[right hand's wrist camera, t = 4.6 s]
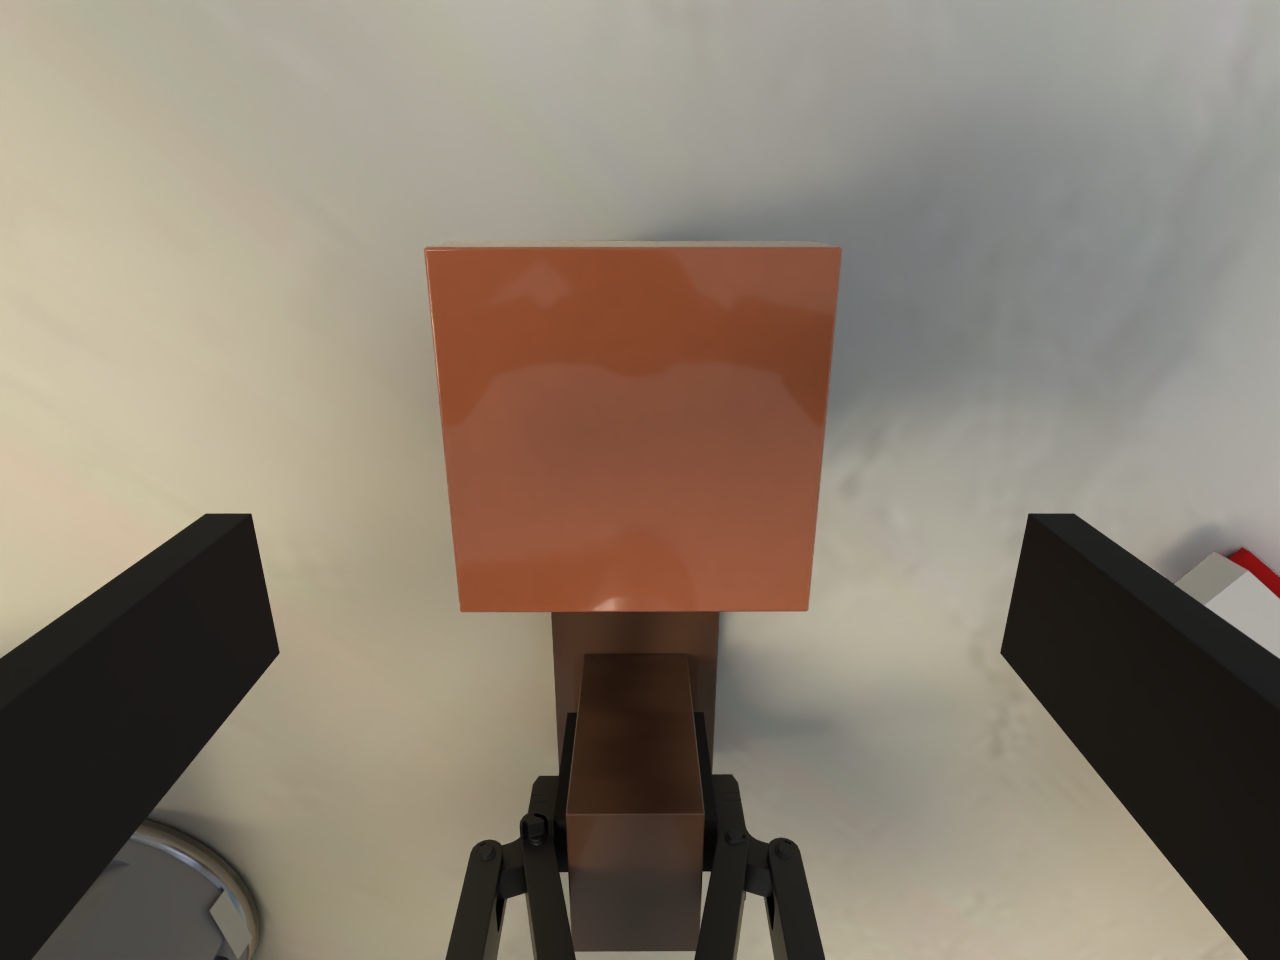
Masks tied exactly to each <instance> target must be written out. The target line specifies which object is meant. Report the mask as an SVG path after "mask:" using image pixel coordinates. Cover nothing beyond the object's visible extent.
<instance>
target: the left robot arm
mask: <svg viewBox="0 0 1280 960" xmlns="http://www.w3.org/2000/svg"><path fill="white" fill-rule="evenodd" d="M693 714H694V723H695V732H696V741H697V749H698V758H699V767H700V776H701V785H702V794H703V803H704V812H705V820H704V845H703V869H702V871H711V875H710V881H709V886H708V891H707V896H706V902H705V907H704V912H703V917H702V922H701V928H700V933H699V938H698V943H697V949H696V954H695V959H694V960H736V959H737V952H738V944H739V937H740V929H741V922H742V915H743V907H744V900H745V898H746V891H747V892H750V893H753V894H757V895H760V896H763V897H764V900H765V906H766V912H767V918H768V924H769V930H770V936H771V942H772V948H773V954H774V960H825V956H824V952H823V948H822V944H821V939H820V935H819V931H818V926H817V922H816V918H815V914H814V909H813V905H812V901H811V897H810V892H809V888H808V884H807V879H806V875H805V871H804V867H803V862H802V858H801V854H800V850H799V848H798V846H797V845H796V844H795V843H794V842H793V841H791V840H789V839H786V838H776V839H774V840H772V841H771V842H770V843H765V842H761V841H759V840H756V839H755V838H753V837H752V836H751V835H750V834H749V833H748V831H747V829H746V826H745V821H744V815H743V809H742V803H741V798H740V792H739V786H738V782H737V781H736V780H735V778H734V777H733V775H732V774H728V775H712V771H711V764H710V756H709V749H708V741H707V733H706V726H705V718H704V712H693ZM576 721H577V713H567V719H566V727H565V734H564V741H563V749H562V756H561V764H560V771H559V776H539V777H538V778H537V780H536V781H535V782H534V784H533V787H532V793H531V799H530V804H529V810H528V813H527V814H526V815H525V816H524V817H523V818H522V819H521V821H520V836H521V837H520V838H519V839H517V840H516V841H514V842H511V843H509V844H505V845H502V846H501V844H500V843H499V842H497V841H495V840H484V841H482V842H480V843H478V844H477V845H476V846H474V847H473V849H472V851H471V854H470V858H469V862H468V867H467V871H466V875H465V879H464V884H463V888H462V892H461V896H460V900H459V905H458V909H457V913H456V917H455V922H454V926H453V930H452V934H451V939H450V943H449V947H448V951H447V955H446V960H497V955H498V949H499V943H500V937H501V931H502V925H503V919H504V913H505V907H506V902H507V898H511V897H514V896H517V895H520V894H523V893H525V895H526V903H527V910H528V918H529V925H530V932H531V940H532V947H533V955H534V960H576V958H575V953H574V947H573V942H572V937H571V932H570V926H569V921H568V916H567V910H566V905H565V900H564V895H563V889H562V884H561V879H560V873H559V872H568V853H567V832H566V807H567V799H568V790H569V782H570V773H571V764H572V756H573V747H574V738H575V730H576ZM259 928H260V925H259V916H258V912H257V908H256V905H255V903H254V900H253V898H252V896H251V894H250V892H249V890H248V888H247V887H246V885H245V884H244V882H243V881H242V879H241V878H240V877H239V876H238V875H237V873H236V872H235V871H234V870H233V869H232V868H231V867H230V866H229V865H228V864H227V863H226V862H225V861H224V860H223V859H222V858H220V857H219V856H218V855H217V854H216V853H214V852H213V851H212V850H210V849H209V848H208V847H206V846H204V845H203V844H201V843H200V842H198V841H196V840H195V839H193V838H191V837H189V836H187V835H185V834H184V833H181V832H179V831H177V830H175V829H172V828H170V827H167V826H165V825H162V824H159V823H156V822H153V821H149V820H146V819H145V820H144V821H143V822H142V824H141V825H140V826H139V827H138V829H137V830H136V831H135V832H134V834H133V835H132V836H131V837H130V839H129V840H128V841H127V842H126V844H125V845H124V846H123V847H122V848H121V850H120V851H119V852H118V853H117V855H116V856H115V857H114V858H113V860H112V861H111V862H110V863H109V865H108V866H107V867H106V868H105V869H104V871H103V872H102V873H101V874H100V876H99V877H98V878H97V879H96V881H95V882H94V883H93V884H92V886H91V887H90V888H89V889H88V890H87V892H86V893H85V894H84V895H83V897H82V898H81V899H80V900H79V902H78V903H77V904H76V905H75V907H74V908H73V909H72V910H71V911H70V913H69V914H68V915H67V916H66V918H65V919H64V920H63V921H62V923H61V924H60V925H59V926H58V928H57V929H56V930H55V931H54V932H53V934H52V935H51V936H50V937H49V939H48V940H47V941H46V942H45V944H44V945H43V946H42V947H41V949H40V950H39V951H38V952H37V953H36V955H35V956H34V957H33V958H32V960H251V958H252V956H253V954H254V952H255V950H256V947H257V944H258V939H259Z"/></svg>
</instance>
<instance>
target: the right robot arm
mask: <svg viewBox="0 0 1280 960" xmlns="http://www.w3.org/2000/svg"><path fill="white" fill-rule="evenodd" d="M279 653H280V652H279V648H278V643H277V638H276V633H275V628H274V623H273V618H272V613H271V608H270V603H269V598H268V593H267V588H266V583H265V578H264V574H263V569H262V564H261V559H260V554H259V549H258V544H257V539H256V534H255V529H254V524H253V519H252V514H205V515H203V516H202V517H201V518H199V519H198V520H196V521H195V522H193V523H192V524H191V525H189V526H188V527H186V528H185V529H184V530H182V531H181V532H179V533H178V534H176V535H175V536H174V537H172V538H171V539H169V540H168V541H167V542H165V543H164V544H162V545H161V546H159V547H158V548H157V549H155V550H154V551H152V552H151V553H150V554H148V555H147V556H145V557H144V558H142V559H141V560H140V561H138V562H137V563H135V564H134V565H132V566H131V567H130V568H128V569H127V570H125V571H124V572H123V573H121V574H120V575H118V576H117V577H115V578H114V579H113V580H111V581H110V582H108V583H107V584H106V585H104V586H103V587H101V588H100V589H98V590H97V591H96V592H94V593H93V594H91V595H90V596H89V597H87V598H86V599H84V600H83V601H81V602H80V603H79V604H77V605H76V606H74V607H73V608H71V609H70V610H69V611H67V612H66V613H64V614H63V615H62V616H60V617H59V618H57V619H56V620H54V621H53V622H52V623H50V624H49V625H47V626H46V627H45V628H43V629H42V630H40V631H39V632H37V633H36V634H35V635H33V636H32V637H30V638H29V639H28V640H26V641H25V642H23V643H22V644H20V645H19V646H18V647H16V648H15V649H13V650H12V651H11V652H9V653H8V654H6V655H5V656H3V657H2V658H1V659H0V960H32V958H33V957H34V956H35V955H36V953H37V952H38V951H39V950H40V949H41V947H42V946H43V945H44V944H45V942H46V941H47V940H48V939H49V937H50V936H51V935H52V934H53V932H54V931H55V930H56V929H57V928H58V926H59V925H60V924H61V923H62V921H63V920H64V919H65V918H66V916H67V915H68V914H69V913H70V911H71V910H72V909H73V908H74V907H75V905H76V904H77V903H78V902H79V900H80V899H81V898H82V897H83V895H84V894H85V893H86V892H87V890H88V889H89V888H90V887H91V886H92V884H93V883H94V882H95V881H96V879H97V878H98V877H99V876H100V874H101V873H102V872H103V871H104V869H105V868H106V867H107V866H108V865H109V863H110V862H111V861H112V860H113V858H114V857H115V856H116V855H117V853H118V852H119V851H120V850H121V848H122V847H123V846H124V845H125V844H126V842H127V841H128V840H129V839H130V837H131V836H132V835H133V834H134V832H135V831H136V830H137V829H138V827H139V826H140V825H141V824H142V822H143V821H144V820H145V819H146V818H147V816H148V815H149V814H150V813H151V811H152V810H153V809H154V808H155V806H156V805H157V804H158V803H159V801H160V800H161V799H162V798H163V797H164V795H165V794H166V793H167V792H168V790H169V789H170V788H171V787H172V785H173V784H174V783H175V782H176V780H177V779H178V778H179V777H180V776H181V774H182V773H183V772H184V771H185V769H186V768H187V767H188V766H189V764H190V763H191V762H192V761H193V759H194V758H195V757H196V756H197V755H198V753H199V752H200V751H201V750H202V748H203V747H204V746H205V745H206V743H207V742H208V741H209V740H210V738H211V737H212V736H213V735H214V734H215V732H216V731H217V730H218V729H219V727H220V726H221V725H222V724H223V722H224V721H225V720H226V719H227V717H228V716H229V715H230V714H231V713H232V711H233V710H234V709H235V708H236V706H237V705H238V704H239V703H240V701H241V700H242V699H243V698H244V696H245V695H246V694H247V693H248V691H249V690H250V689H251V688H252V687H253V685H254V684H255V683H256V682H257V680H258V679H259V678H260V677H261V675H262V674H263V673H264V672H265V670H266V669H267V668H268V667H269V666H270V664H271V663H272V662H273V661H274V659H275V658H276V657H277V656H278V654H279ZM1000 653H1001V654H1002V656H1003V657H1004V658H1005V659H1006V661H1007V662H1008V663H1009V664H1010V666H1011V667H1012V668H1013V669H1014V670H1015V672H1016V673H1017V674H1018V675H1019V677H1020V678H1021V679H1022V680H1023V682H1024V683H1025V684H1026V685H1027V687H1028V688H1029V689H1030V690H1031V691H1032V693H1033V694H1034V695H1035V696H1036V698H1037V699H1038V700H1039V701H1040V703H1041V704H1042V705H1043V706H1044V708H1045V709H1046V710H1047V711H1048V713H1049V714H1050V715H1051V716H1052V717H1053V719H1054V720H1055V721H1056V722H1057V724H1058V725H1059V726H1060V727H1061V729H1062V730H1063V731H1064V732H1065V734H1066V735H1067V736H1068V737H1069V738H1070V740H1071V741H1072V742H1073V743H1074V745H1075V746H1076V747H1077V748H1078V750H1079V751H1080V752H1081V753H1082V755H1083V756H1084V757H1085V758H1086V759H1087V761H1088V762H1089V763H1090V764H1091V766H1092V767H1093V768H1094V769H1095V771H1096V772H1097V773H1098V774H1099V776H1100V777H1101V778H1102V779H1103V780H1104V782H1105V783H1106V784H1107V785H1108V787H1109V788H1110V789H1111V790H1112V792H1113V793H1114V794H1115V795H1116V797H1117V798H1118V799H1119V800H1120V801H1121V803H1122V804H1123V805H1124V806H1125V808H1126V809H1127V810H1128V811H1129V813H1130V814H1131V815H1132V816H1133V818H1134V819H1135V820H1136V821H1137V822H1138V824H1139V825H1140V826H1141V827H1142V829H1143V830H1144V831H1145V832H1146V834H1147V835H1148V836H1149V837H1150V839H1151V840H1152V841H1153V842H1154V844H1155V845H1156V846H1157V847H1158V848H1159V850H1160V851H1161V852H1162V853H1163V855H1164V856H1165V857H1166V858H1167V860H1168V861H1169V862H1170V863H1171V865H1172V866H1173V867H1174V868H1175V869H1176V871H1177V872H1178V873H1179V874H1180V876H1181V877H1182V878H1183V879H1184V881H1185V882H1186V883H1187V884H1188V886H1189V887H1190V888H1191V889H1192V890H1193V892H1194V893H1195V894H1196V895H1197V897H1198V898H1199V899H1200V900H1201V902H1202V903H1203V904H1204V905H1205V907H1206V908H1207V909H1208V910H1209V911H1210V913H1211V914H1212V915H1213V916H1214V918H1215V919H1216V920H1217V921H1218V923H1219V924H1220V925H1221V926H1222V928H1223V929H1224V930H1225V931H1226V932H1227V934H1228V935H1229V936H1230V937H1231V939H1232V940H1233V941H1234V942H1235V944H1236V945H1237V946H1238V947H1239V949H1240V950H1241V951H1242V952H1243V953H1244V955H1245V956H1246V957H1247V958H1248V960H1280V659H1279V658H1278V657H1277V656H1275V655H1274V654H1272V653H1271V652H1269V651H1268V650H1267V649H1265V648H1264V647H1262V646H1261V645H1260V644H1258V643H1257V642H1255V641H1254V640H1252V639H1251V638H1250V637H1248V636H1247V635H1245V634H1244V633H1243V632H1241V631H1240V630H1238V629H1237V628H1235V627H1234V626H1233V625H1231V624H1230V623H1228V622H1227V621H1226V620H1224V619H1223V618H1221V617H1220V616H1218V615H1217V614H1216V613H1214V612H1213V611H1211V610H1210V609H1209V608H1207V607H1206V606H1204V605H1203V604H1201V603H1200V602H1199V601H1197V600H1196V599H1194V598H1193V597H1191V596H1190V595H1189V594H1187V593H1186V592H1184V591H1183V590H1182V589H1180V588H1179V587H1177V586H1176V585H1174V584H1173V583H1172V582H1170V581H1169V580H1167V579H1166V578H1165V577H1163V576H1162V575H1160V574H1159V573H1157V572H1156V571H1155V570H1153V569H1152V568H1150V567H1149V566H1148V565H1146V564H1145V563H1143V562H1142V561H1140V560H1139V559H1138V558H1136V557H1135V556H1133V555H1132V554H1130V553H1129V552H1128V551H1126V550H1125V549H1123V548H1122V547H1121V546H1119V545H1118V544H1116V543H1115V542H1113V541H1112V540H1111V539H1109V538H1108V537H1106V536H1105V535H1104V534H1102V533H1101V532H1099V531H1098V530H1096V529H1095V528H1094V527H1092V526H1091V525H1089V524H1088V523H1087V522H1085V521H1084V520H1082V519H1081V518H1079V517H1078V516H1077V515H1075V514H1028V519H1027V524H1026V529H1025V534H1024V539H1023V544H1022V549H1021V554H1020V559H1019V564H1018V569H1017V574H1016V578H1015V583H1014V588H1013V593H1012V598H1011V603H1010V608H1009V613H1008V618H1007V623H1006V628H1005V633H1004V638H1003V643H1002V648H1001V652H1000Z"/></svg>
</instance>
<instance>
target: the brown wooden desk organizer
mask: <svg viewBox="0 0 1280 960" xmlns="http://www.w3.org/2000/svg"><path fill="white" fill-rule="evenodd" d="M551 614H552V635H553V655H554V675H555V695H556V716H557V736H558V756H559V771H560V764H561V756H562V749H563V741H564V734H565V727H566V719H567V713H577V721H576V730H575V738H574V747H573V756H572V764H571V773H570V782H569V790H568V799H567V807H566V832H567V853H568V875H569V896H570V917H571V937H572V942H573V947H574V952H584V951H696V949H697V943H698V938H699V933H700V918H701V894H702V869H703V845H704V820H705V812H704V803H703V794H702V785H701V776H700V767H699V758H698V749H697V741H696V732H695V723H694V714H693V712H704V718H705V726H706V733H707V741H708V749H709V756H710V764H711V771H712V766H713V744H714V721H715V698H716V676H717V653H718V631H719V612H551Z"/></svg>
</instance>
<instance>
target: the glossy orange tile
mask: <svg viewBox="0 0 1280 960" xmlns="http://www.w3.org/2000/svg"><path fill="white" fill-rule="evenodd" d="M424 254H425V264H426V274H427V284H428V294H429V304H430V314H431V324H432V334H433V344H434V354H435V364H436V374H437V384H438V394H439V404H440V414H441V424H442V434H443V444H444V454H445V464H446V474H447V484H448V494H449V504H450V514H451V524H452V534H453V544H454V553H455V563H456V573H457V583H458V593H459V603H460V611H461V612H722V611H808V607H809V596H810V585H811V575H812V564H813V553H814V543H815V532H816V521H817V511H818V500H819V489H820V479H821V468H822V457H823V447H824V436H825V425H826V415H827V404H828V393H829V383H830V372H831V361H832V351H833V340H834V329H835V319H836V308H837V297H838V287H839V276H840V266H841V255H842V249H841V247H838V246H833V245H828V244H824V243H819V242H814V241H453V242H448V243H443V244H438V245H434V246H429V247H426V248H425V249H424Z"/></svg>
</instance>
